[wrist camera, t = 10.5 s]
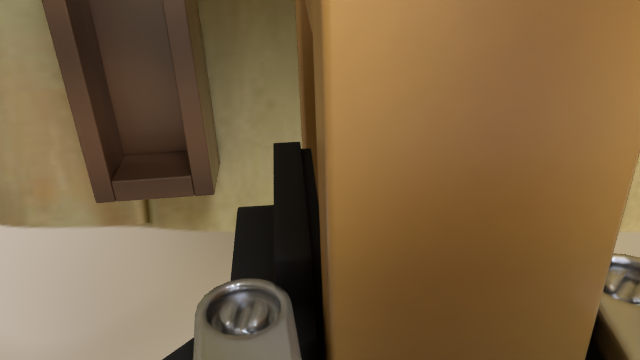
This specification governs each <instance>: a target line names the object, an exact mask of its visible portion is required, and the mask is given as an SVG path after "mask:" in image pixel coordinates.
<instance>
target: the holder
mask: <svg viewBox="0 0 640 360" xmlns="http://www.w3.org/2000/svg"><path fill="white" fill-rule="evenodd" d="M42 3H43V7H44V10H45V14H46V18H47V22H48V25H49V29H50V33H51V36H52V40H53V44H54V48H55V51H56V55H57V59H58V63H59V66H60V70H61V74H62V78H63V81H64V85H65V89H66V92H67V96H68V100H69V104H70V107H71V111H72V115H73V119H74V122H75V126H76V130H77V133H78V137H79V141H80V145H81V148H82V152H83V156H84V160H85V163H86V167H87V171H88V175H89V178H90V182H91V186H92V189H93V193H94V197H95V201H96V203H104V202H115V201H130V200H143V199H157V198H171V197H185V196H194V195H195V196H202V195H214V193H215V187H216V182H217V176H218V171H219V165H220V160H219V153H218V146H217V139H216V132H215V125H214V118H213V110H212V103H211V96H210V89H209V82H208V75H207V68H206V61H205V54H204V47H203V40H202V33H201V26H200V18H199V11H198V4H197V0H42Z"/></svg>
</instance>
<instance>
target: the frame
mask: <svg viewBox="0 0 640 360" xmlns="http://www.w3.org/2000/svg"><path fill="white" fill-rule="evenodd" d="M295 11H296V31H297V51H298V71H299V91H300V111H301V131H302V149H305V148H311V152H312V159H313V166H314V174H315V181H316V188H317V196H318V203H319V219H320V247H321V274H322V302H323V329H324V357H325V360H585V357H586V354H587V350H588V346H589V342H590V338H591V335H592V331H593V327H594V323H595V320H596V316H597V312H598V308H599V304H600V301H601V297H602V293H603V289H604V286H605V282H606V278H607V274H608V270H609V267H610V263H611V259H612V255H613V252H614V247H615V244H616V240H617V236H618V233H619V229H620V225H621V221H622V218H623V214H624V210H625V206H626V202H627V199H628V195H629V191H630V187H631V184H632V180H633V176H634V172H635V168H636V165H637V161H638V157H639V153H640V0H295Z"/></svg>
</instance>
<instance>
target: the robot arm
mask: <svg viewBox="0 0 640 360" xmlns="http://www.w3.org/2000/svg"><path fill="white" fill-rule="evenodd" d="M163 360H325V357H324V329H323V302H322V274H321V247H320V219H319V203H318V196H317V188H316V181H315V174H314V166H313V159H312V152H311V148H305V149H301V146H300V142H288V143H274V205H267V206H251V207H239V208H238V212H237V221H236V231H235V241H234V252H233V261H232V272H231V281H230V282H227V283H224V284H222V285H220V286H218V287H216V288H214V289H213V290H211V291H210V292H209V293H208V294H206V295H205V296H204V297H203V299H202V300H201V301H200V303H199V304H198V306H197V310H196V313H195V329H194V338H192V339H191V340H190V341H188V342H187V343H185V344H184V345H183V346H181V347H180V348H178V349H177V350H175V351H174V352H173V353H171V354H170V355H168V356H167V357H166V358H164V359H163ZM585 360H640V258H639V257H634V256H629V255H626V254H615V253H613V255H612V259H611V263H610V267H609V270H608V274H607V278H606V282H605V286H604V289H603V293H602V297H601V301H600V304H599V308H598V312H597V316H596V320H595V323H594V327H593V331H592V335H591V338H590V342H589V346H588V350H587V354H586V357H585Z"/></svg>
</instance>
